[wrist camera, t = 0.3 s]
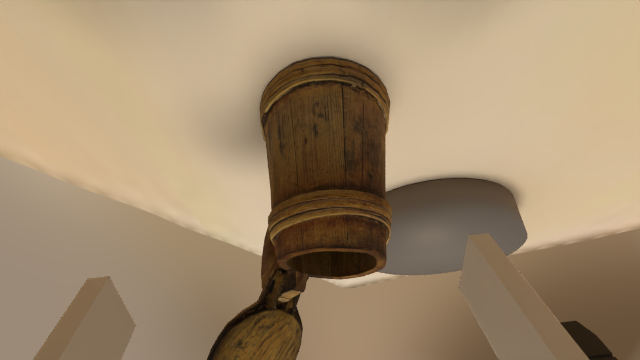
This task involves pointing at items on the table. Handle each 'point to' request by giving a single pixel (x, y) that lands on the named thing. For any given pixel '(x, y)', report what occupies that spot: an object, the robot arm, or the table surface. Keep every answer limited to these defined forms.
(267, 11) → the table surface
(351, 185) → the wooden mug
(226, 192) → the table surface
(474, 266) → the robot arm
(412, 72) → the table surface
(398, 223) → the charcoal plinth
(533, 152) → the table surface
